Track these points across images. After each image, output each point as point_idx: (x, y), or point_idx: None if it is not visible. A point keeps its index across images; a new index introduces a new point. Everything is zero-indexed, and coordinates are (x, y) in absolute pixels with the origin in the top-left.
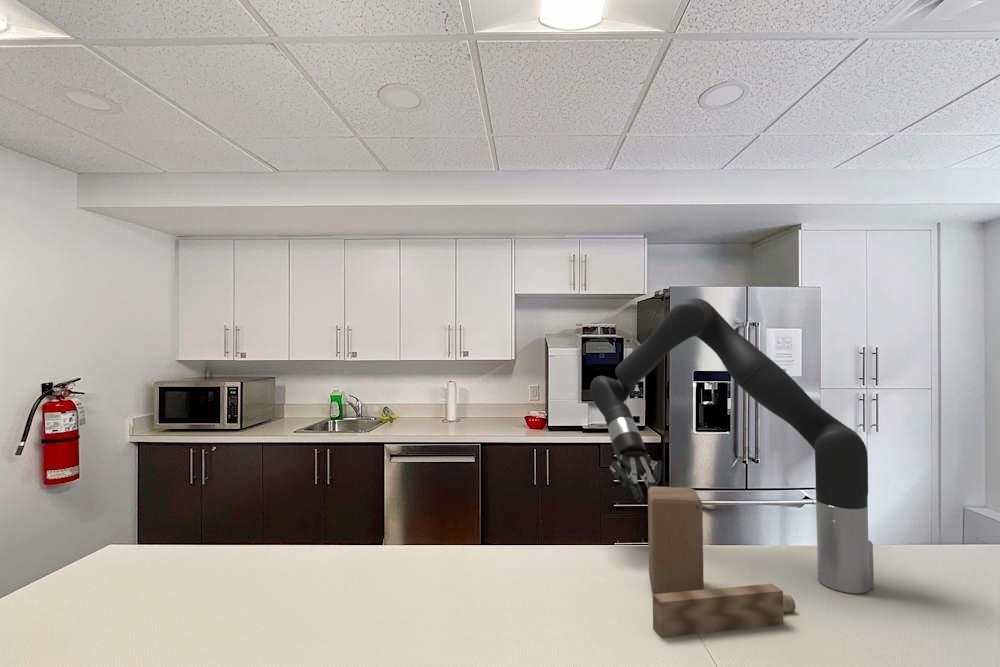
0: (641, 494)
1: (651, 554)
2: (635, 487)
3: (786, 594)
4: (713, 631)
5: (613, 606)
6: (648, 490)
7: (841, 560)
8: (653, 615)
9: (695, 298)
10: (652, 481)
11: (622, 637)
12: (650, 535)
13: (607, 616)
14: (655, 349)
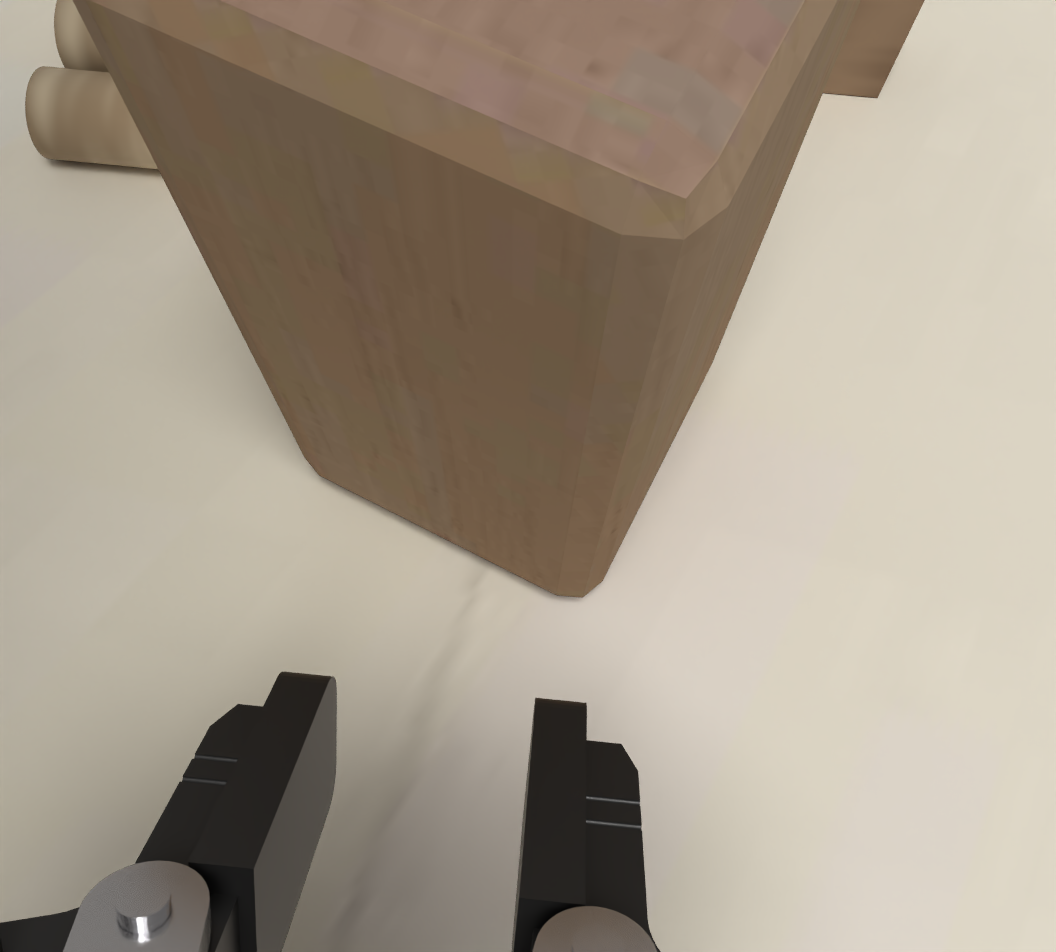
0: (559, 733)
1: (756, 251)
2: (614, 885)
3: (62, 12)
4: None
5: (998, 319)
6: (746, 153)
7: None
8: (899, 45)
9: None
10: (159, 890)
11: (1052, 77)
12: (756, 235)
13: None
14: None
